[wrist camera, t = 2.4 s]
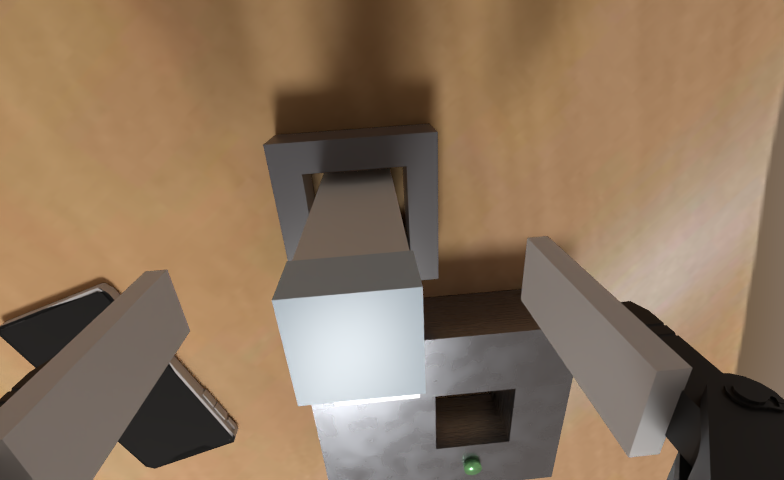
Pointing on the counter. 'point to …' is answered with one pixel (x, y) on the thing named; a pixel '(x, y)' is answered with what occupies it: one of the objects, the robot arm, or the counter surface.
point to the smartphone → (162, 405)
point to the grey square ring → (359, 152)
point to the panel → (459, 402)
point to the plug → (353, 296)
